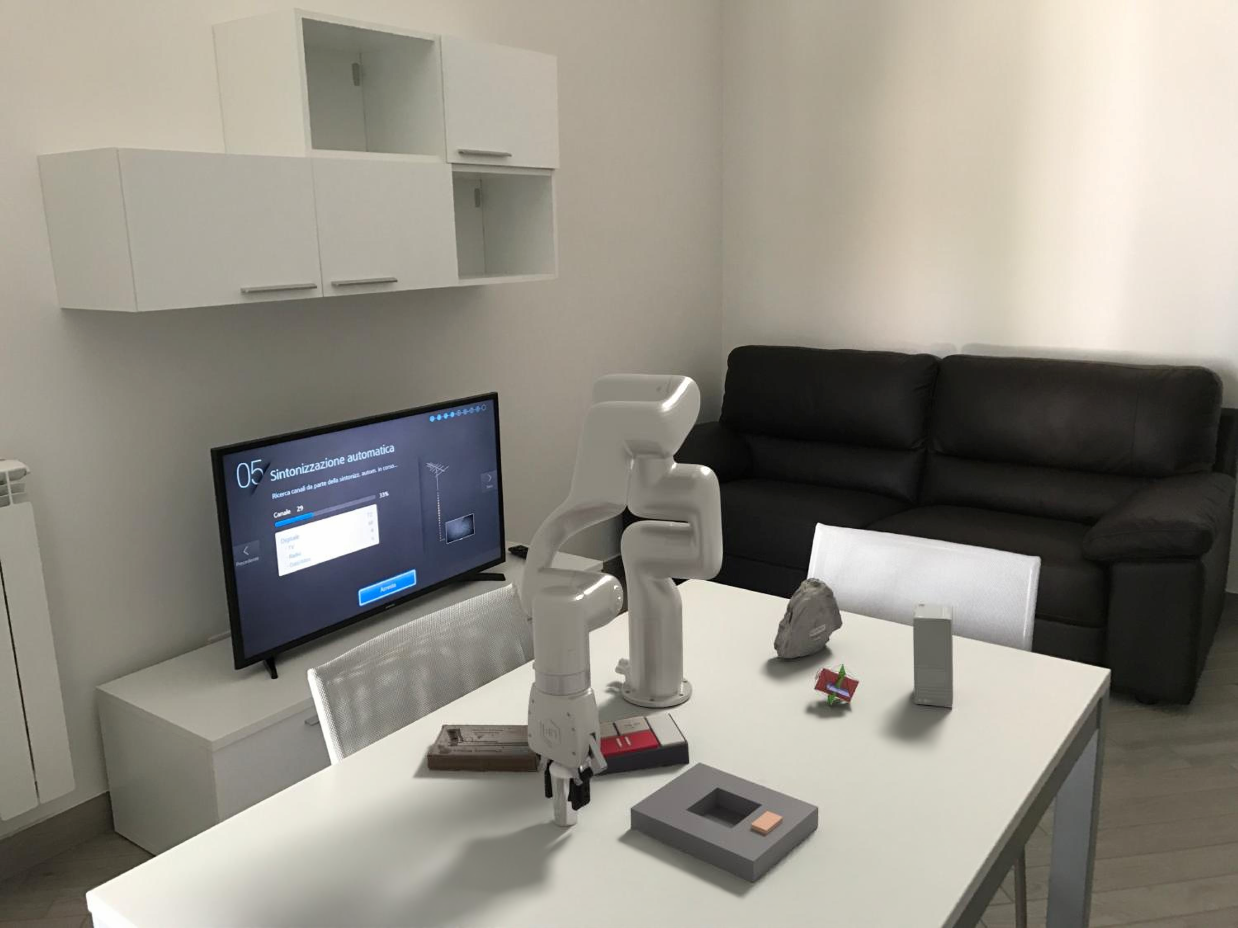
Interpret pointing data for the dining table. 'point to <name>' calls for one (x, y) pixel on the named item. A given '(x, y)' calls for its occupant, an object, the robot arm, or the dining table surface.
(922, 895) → the dining table surface
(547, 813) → the dining table surface
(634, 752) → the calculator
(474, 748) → the box
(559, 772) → the milkshake
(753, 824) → the socket plate
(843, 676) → the geometric puzzle
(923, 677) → the skincare box
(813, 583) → the decorative rock
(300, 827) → the dining table surface
